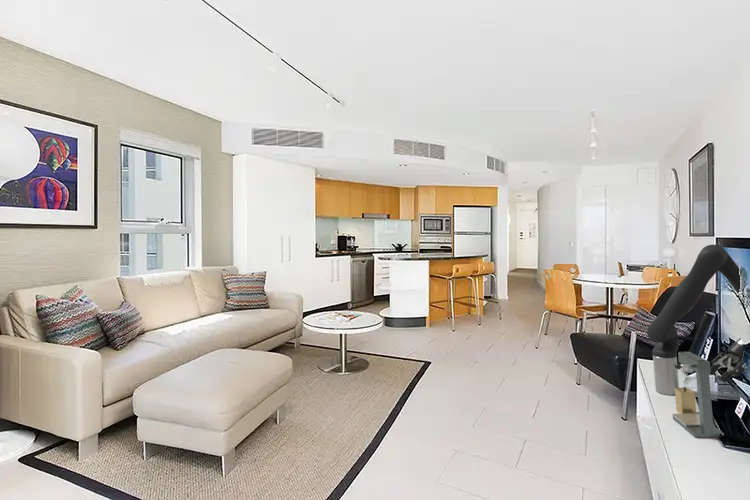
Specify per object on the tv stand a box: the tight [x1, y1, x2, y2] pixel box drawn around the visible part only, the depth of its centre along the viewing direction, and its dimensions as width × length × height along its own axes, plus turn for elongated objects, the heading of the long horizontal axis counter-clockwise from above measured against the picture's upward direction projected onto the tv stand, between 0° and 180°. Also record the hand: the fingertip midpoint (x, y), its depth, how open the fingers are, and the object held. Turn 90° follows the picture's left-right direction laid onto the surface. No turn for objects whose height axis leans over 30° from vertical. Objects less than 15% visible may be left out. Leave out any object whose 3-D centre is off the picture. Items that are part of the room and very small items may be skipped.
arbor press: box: [672, 351, 725, 439], centre depth 158 cm, size 16×13×28 cm
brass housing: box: [674, 386, 697, 414], centre depth 170 cm, size 5×5×11 cm
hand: (715, 376), depth 168 cm, fingers open, 8 cm apart
